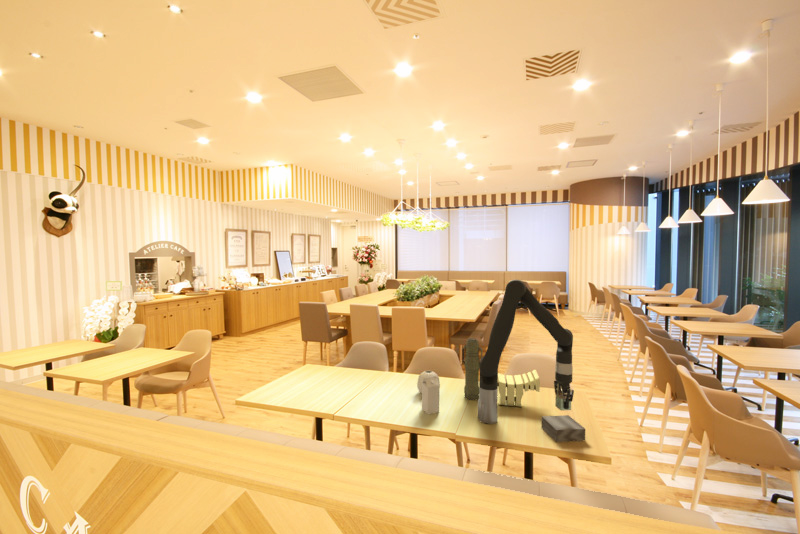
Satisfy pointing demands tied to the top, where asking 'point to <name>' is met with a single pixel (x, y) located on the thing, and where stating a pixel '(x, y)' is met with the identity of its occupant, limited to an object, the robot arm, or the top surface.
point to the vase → (422, 378)
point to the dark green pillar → (471, 369)
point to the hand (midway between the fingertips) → (563, 406)
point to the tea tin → (561, 402)
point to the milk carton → (430, 395)
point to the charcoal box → (563, 428)
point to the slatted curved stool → (516, 387)
